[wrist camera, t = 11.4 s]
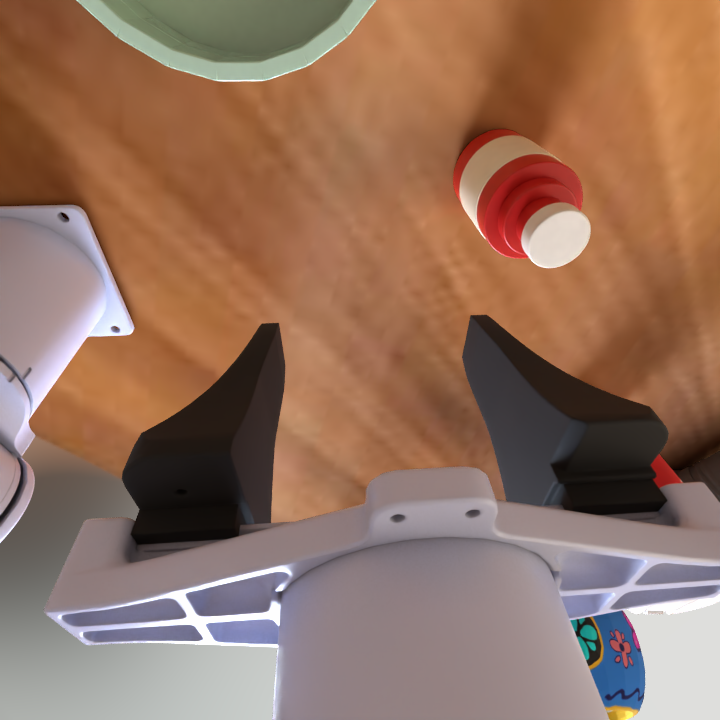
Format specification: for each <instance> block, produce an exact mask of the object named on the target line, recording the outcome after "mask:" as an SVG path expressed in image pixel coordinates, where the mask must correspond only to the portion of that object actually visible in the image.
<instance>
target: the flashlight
mask: <svg viewBox="0 0 720 720" xmlns="http://www.w3.org/2000/svg"><path fill="white" fill-rule="evenodd" d="M674 472H675V474H676V475H677V476H678V477H679V478H680V480H681V481H682V482H683V483H691V482H703V483H705V485H706V486H707V487H708V488H709V490H710V491H711V492H712V493H713V495H714V496H715V497H716V498H717V500H718V501H719V502H720V451H718V452H717V453H715V454H713V455H711V456H710V457H708V458H703V459H701V460H700V462H696V463H695V464H694V466H688V467H687V468H685V469H683V470H682V471H679V470H674Z"/></svg>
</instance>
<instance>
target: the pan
mask: <svg viewBox="0 0 720 720" xmlns="http://www.w3.org/2000/svg"><path fill="white" fill-rule="evenodd" d="M76 1H77V2H78V3H80V4H81V5H82V6H83V7H84V8H85V9H86V10H87V11H89V12H90V13H91V14H92V15H93V16H94V17H95V18H96V19H97V20H99V21H100V22H101V23H102V24H103V25H104V26H105V27H106V28H108V29H109V30H110V31H111V32H112V33H113V34H114V35H115V36H117V37H118V38H119V39H121V40H122V41H124V42H126V43H127V44H129V45H131V46H133V47H134V48H136V49H138V50H140V51H141V52H143V53H145V54H146V55H148V56H150V57H152V58H153V59H155V60H157V61H159V62H160V63H162V64H164V65H165V66H167V67H170V68H173V69H176V70H180V71H183V72H187V73H190V74H194V75H197V76H201V77H204V78H208V79H211V80H215V81H217V80H218V81H264V80H269V79H272V78H275V77H278V76H281V75H284V74H287V73H290V72H293V71H296V70H299V69H302V68H305V67H307V66H308V65H311V64H312V63H313V62H315V61H316V60H317V59H319V58H320V57H321V56H323V55H324V54H326V53H327V52H328V51H330V50H331V49H332V48H334V47H335V46H336V45H338V44H339V43H340V42H342V41H343V40H344V39H346V38H347V35H350V34H351V33H352V31H353V30H354V29H355V27H356V26H357V25H358V24H359V22H360V21H361V20H362V18H363V17H364V16H365V15H366V13H367V12H368V11H369V9H370V8H371V7H372V5H373V4H374V3H375V2H376V0H76Z"/></svg>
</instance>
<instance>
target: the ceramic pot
mask: <svg viewBox="0 0 720 720" xmlns="http://www.w3.org/2000/svg"><path fill="white" fill-rule="evenodd" d="M570 621H571V624H572V626H573V629H574V631H575V634H576V637H577V639H578V642H579V644H580V647H581V649H582V652H583V654H584V657H585V659H586V662H587V664H588V667H589V669H590V672H591V674H592V677H593V679H594V682H595V684H596V687H597V689H598V692H599V694H600V697H601V699H602V702H603V704H604V707H605V709H606V712H607V714H608V717H609V720H626V719H629V718H631V717H633V716H634V715H636V714H637V713H638V712H639V710H640V707H641V705H642V702H643V699H644V690H645V668H644V662H643V657H642V653H641V649H640V646H639V642H638V639H637V636H636V633H635V630H634V629H633V626H632V624H631V622H630V621H629V619H628V618H627V616H626V615H625V613H624V612H623V610H622V611H617V612H611V613H606V614H601V615H596V616H590V617H585V618H580V619H575V620H570Z"/></svg>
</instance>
